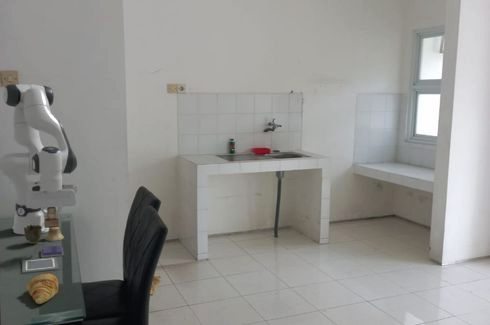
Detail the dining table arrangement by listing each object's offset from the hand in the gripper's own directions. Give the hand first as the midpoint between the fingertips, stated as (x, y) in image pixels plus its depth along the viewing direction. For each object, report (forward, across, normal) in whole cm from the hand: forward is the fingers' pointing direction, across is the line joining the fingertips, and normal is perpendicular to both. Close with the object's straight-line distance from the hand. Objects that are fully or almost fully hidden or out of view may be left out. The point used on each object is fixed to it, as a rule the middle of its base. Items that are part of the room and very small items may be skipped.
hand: (51, 216), depth 200 cm
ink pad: (+16, 0, +1) cm, 16 cm away
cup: (+17, +7, -14) cm, 23 cm away
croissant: (+16, +4, +42) cm, 45 cm away
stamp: (+4, 0, 0) cm, 4 cm away
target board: (+16, +5, +15) cm, 22 cm away
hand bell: (+17, -2, -20) cm, 26 cm away
